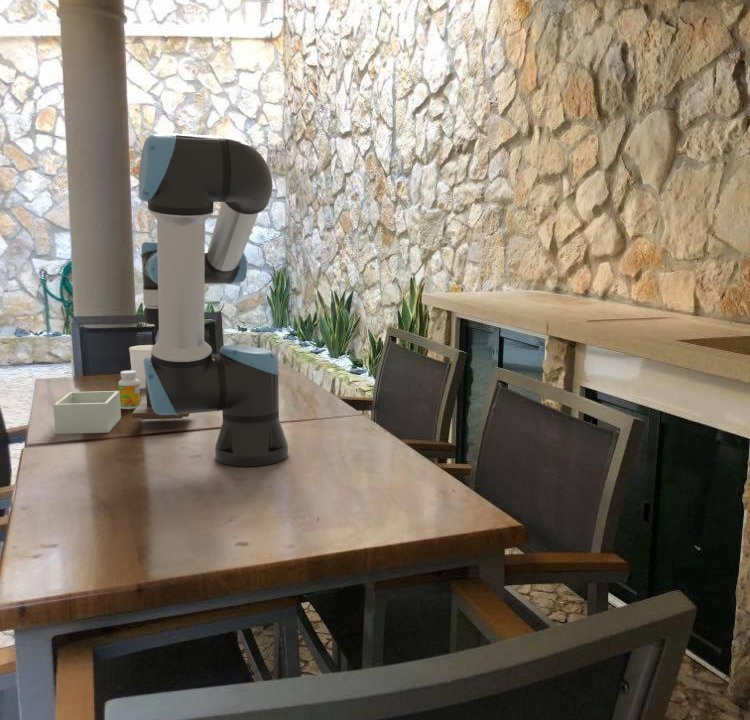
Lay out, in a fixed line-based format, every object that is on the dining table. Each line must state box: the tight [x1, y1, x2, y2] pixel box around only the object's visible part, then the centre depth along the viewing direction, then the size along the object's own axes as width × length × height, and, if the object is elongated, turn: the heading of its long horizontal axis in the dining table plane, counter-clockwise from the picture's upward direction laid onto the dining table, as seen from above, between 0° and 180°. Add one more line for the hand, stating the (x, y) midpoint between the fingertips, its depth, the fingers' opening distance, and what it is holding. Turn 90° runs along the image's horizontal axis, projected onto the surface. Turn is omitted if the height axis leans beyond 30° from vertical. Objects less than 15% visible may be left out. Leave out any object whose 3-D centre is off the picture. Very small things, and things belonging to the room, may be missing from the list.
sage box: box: [53, 390, 122, 435], centre depth 181 cm, size 14×12×7 cm
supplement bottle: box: [117, 369, 141, 410], centre depth 200 cm, size 5×5×10 cm
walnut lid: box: [131, 382, 190, 421], centre depth 183 cm, size 15×13×10 cm
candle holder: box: [128, 344, 153, 390], centre depth 228 cm, size 10×10×12 cm
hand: (164, 401), depth 183 cm, fingers closed on walnut lid, 3 cm apart
